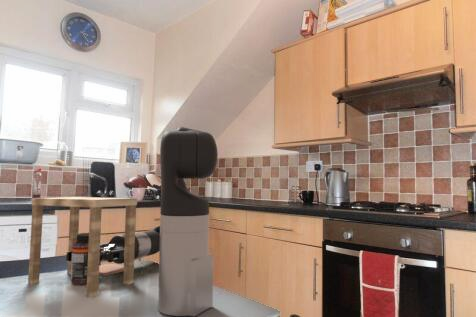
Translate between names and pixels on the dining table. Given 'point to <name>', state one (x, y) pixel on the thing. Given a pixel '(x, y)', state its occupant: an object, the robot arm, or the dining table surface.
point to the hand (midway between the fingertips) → (76, 258)
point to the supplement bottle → (79, 260)
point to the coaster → (110, 269)
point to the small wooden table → (94, 235)
